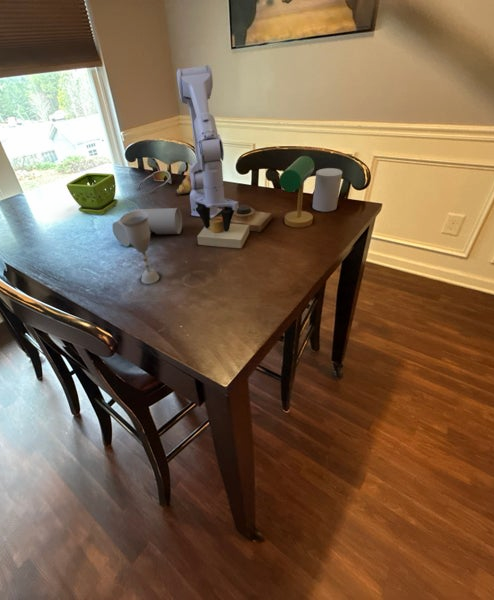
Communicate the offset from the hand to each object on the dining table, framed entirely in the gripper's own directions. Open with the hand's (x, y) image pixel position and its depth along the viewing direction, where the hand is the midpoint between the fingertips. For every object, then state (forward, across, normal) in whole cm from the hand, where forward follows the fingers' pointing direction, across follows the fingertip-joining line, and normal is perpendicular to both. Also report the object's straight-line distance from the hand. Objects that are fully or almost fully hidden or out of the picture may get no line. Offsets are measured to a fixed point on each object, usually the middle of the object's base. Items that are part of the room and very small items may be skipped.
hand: (217, 228), depth 98 cm
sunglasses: (+4, -53, +36) cm, 64 cm away
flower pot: (+4, -60, +6) cm, 60 cm away
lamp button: (0, +3, +13) cm, 14 cm away
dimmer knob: (0, 0, 0) cm, 0 cm away
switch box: (+3, +5, +13) cm, 15 cm away
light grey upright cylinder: (+4, +25, +33) cm, 42 cm away
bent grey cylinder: (+4, -22, -6) cm, 23 cm away
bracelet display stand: (+3, +20, +19) cm, 28 cm away
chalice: (+4, -7, -27) cm, 28 cm away
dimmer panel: (+3, +2, 0) cm, 4 cm away
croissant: (+4, -33, +38) cm, 51 cm away
